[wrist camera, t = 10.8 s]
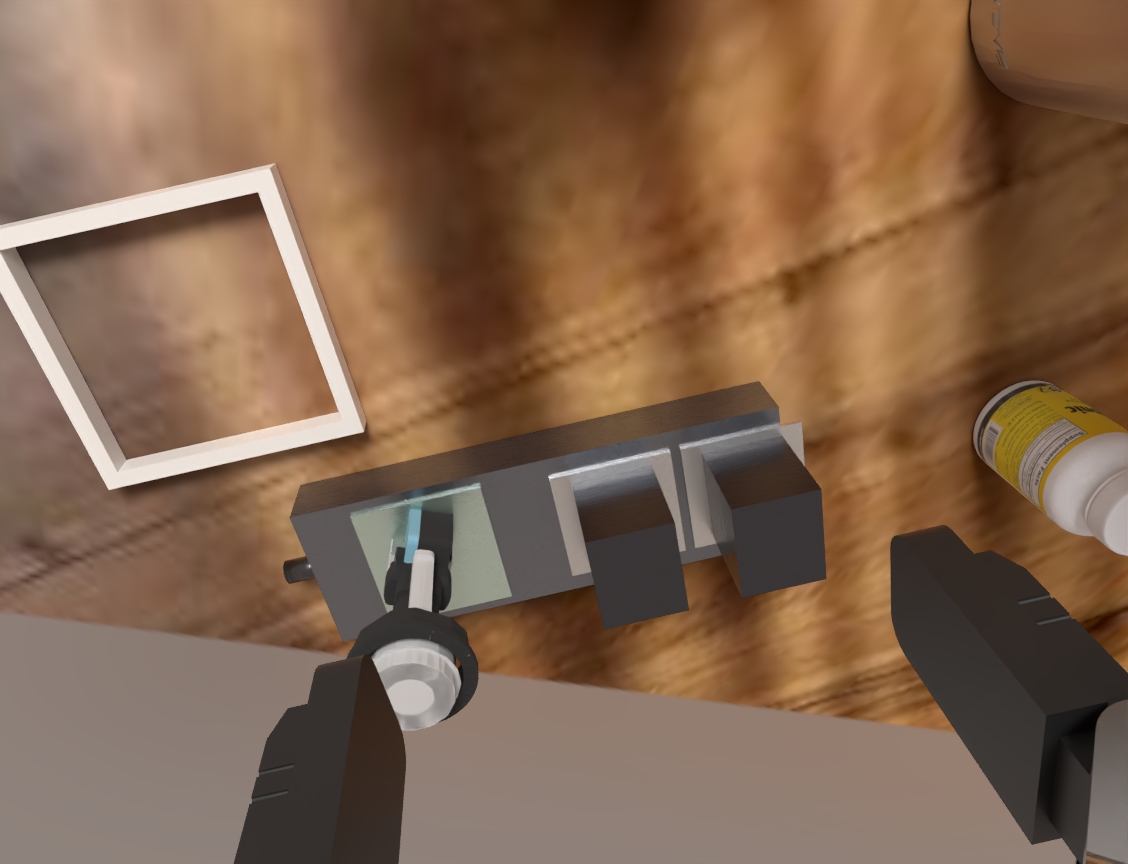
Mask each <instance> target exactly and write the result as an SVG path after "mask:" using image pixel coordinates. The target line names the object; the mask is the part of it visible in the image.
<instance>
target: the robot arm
mask: <svg viewBox="0 0 1128 864" xmlns="http://www.w3.org/2000/svg"><path fill="white" fill-rule="evenodd" d="M970 22H971V38H972V42H973V46H974V49H975V53H976V57H977V60H978V62H979V64H980V66H981V67H982V69H983V71H984V73H985V75H986V76H987V78H988V79H989V80H990V81H991V82H992V83H993V84H994V85H995V86H996V87H997V88H998V89H999V91H1000V92H1002V93H1003V94H1005V95H1007V96H1009V97H1010V98H1012V99H1014V100H1016V101H1017V102H1021V103H1025V104H1029V105H1033V106H1038V107H1043V108H1048V109H1053V110H1058V111H1063V112H1069V113H1074V114H1079V115H1082V116H1087V117H1092V118H1097V119H1103V120H1108V121H1113V122H1118V123H1123V124H1128V0H972V4H971V12H970ZM890 557H891V615H892V622H893V626H894V630H895V633H896V637H897V639H898V642H899V644H900V646H901V648H902V650H903V652H904V654H905V656H906V657H907V659H908V660H909V662H910V663H911V665H912V666H913V668H914V669H915V671H916V672H917V674H918V675H919V677H920V678H921V680H922V681H923V683H924V684H925V686H926V687H927V689H928V690H929V692H930V693H931V695H932V696H933V698H934V699H935V701H936V702H937V704H938V705H939V707H940V708H941V710H942V711H943V713H944V714H945V716H946V717H947V719H948V720H949V722H950V723H951V725H952V726H953V728H954V729H955V731H956V732H957V734H958V735H959V737H960V738H961V739H962V741H963V743H964V744H965V745H966V747H967V748H968V750H969V751H970V753H971V754H972V756H973V757H974V759H975V760H976V762H977V763H978V764H979V766H980V768H981V769H982V771H983V772H984V774H985V775H986V777H987V778H988V780H989V781H990V783H991V784H992V786H993V787H994V789H995V790H996V792H997V793H998V795H999V796H1000V798H1001V799H1002V801H1003V802H1004V804H1005V805H1006V807H1007V808H1008V810H1009V811H1010V813H1011V814H1012V816H1013V817H1014V819H1015V820H1016V822H1017V823H1018V825H1019V826H1020V827H1021V829H1022V831H1023V832H1024V834H1025V835H1026V837H1027V838H1028V840H1029V841H1030V843H1031V844H1032V845H1033V844H1037V843H1041V842H1046V841H1050V840H1054V839H1059V838H1062V839H1063V840H1064V841H1065V843H1066V844H1067V845H1068V847H1069V849H1070V850H1071V851H1072V853H1073V854H1074V855H1075V857H1076V861H1075V864H1128V673H1127V672H1126V671H1125V670H1124V669H1123V668H1122V667H1121V666H1120V665H1119V664H1118V663H1117V662H1116V661H1115V660H1114V659H1113V657H1112V656H1111V655H1110V654H1109V653H1108V652H1107V651H1106V650H1105V649H1104V648H1103V647H1102V646H1101V645H1100V644H1099V643H1098V642H1097V641H1096V640H1095V639H1094V638H1093V637H1092V636H1091V635H1090V634H1089V633H1088V632H1087V631H1086V630H1085V629H1084V628H1083V627H1082V626H1081V625H1080V624H1079V623H1078V622H1077V621H1076V620H1075V619H1071V618H1070V615H1069V613H1068V612H1067V611H1066V609H1065V608H1064V607H1063V606H1062V605H1061V604H1060V603H1059V602H1058V601H1057V600H1056V599H1055V598H1051V597H1050V593H1049V592H1048V591H1047V590H1046V589H1045V588H1044V587H1043V586H1042V585H1041V584H1040V583H1039V582H1038V581H1037V580H1036V579H1035V578H1034V577H1033V576H1032V575H1031V574H1030V573H1029V572H1028V571H1027V570H1026V569H1025V568H1023V567H1022V566H1020V565H1018V564H1016V563H1014V562H1012V561H1010V560H1008V559H1006V558H1004V557H1003V556H1001V555H999V554H997V553H995V552H993V551H991V550H990V551H985V552H981V553H976V554H973V552H972V551H971V550H970V549H969V548H968V547H967V546H966V545H965V544H964V543H963V541H962V540H961V539H960V538H959V537H958V536H957V535H956V534H955V533H954V532H953V531H952V530H951V529H950V528H949V527H947V526H945V525H941V526H936V527H932V528H928V529H923V530H919V531H914V532H910V533H906V534H901V535H897V536H894V537H893V538H892V541H891V547H890ZM405 754H406V753H405V745H404V739H403V734H402V730H401V727H400V724H399V721H398V719H397V716H396V714H395V711H394V709H393V707H392V704H391V702H390V699H389V697H388V695H387V692H386V690H385V687H384V685H383V683H382V680H381V678H380V675H379V673H378V671H377V668H376V666H375V664H374V661H373V660H372V658H371V657H370V656H369V655H362V656H358V657H353V658H349V659H345V660H340V661H336V662H331V663H327V664H323V665H319V666H318V667H317V668H316V670H315V673H314V677H313V682H312V686H311V691H310V695H309V700H308V704H305V705H301V706H296V707H292V708H288V709H287V711H286V712H285V714H284V715H283V716H282V718H281V719H280V721H279V722H278V724H277V725H276V727H275V728H274V730H273V731H272V733H271V734H270V735H269V737H268V738H267V741H266V744H265V748H264V752H263V756H262V759H261V763H260V767H259V777H257V778H256V782H255V786H254V790H253V793H252V804H250V805H249V808H248V812H247V816H246V820H245V823H244V828H243V831H242V835H241V839H240V842H239V846H238V850H237V853H236V857H235V861H234V864H398V862H399V849H400V836H401V822H402V811H403V796H404V783H405V771H406V755H405Z"/></svg>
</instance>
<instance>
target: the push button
mask: <svg viewBox="0 0 1128 864" xmlns="http://www.w3.org/2000/svg"><path fill="white" fill-rule="evenodd" d="M453 516H454V515H453V514H448V513H440V512H433V511H426V510H418V509H411V508H410V512H409V518H408V527H407V533H406V538H405V544H404V547H396V552H395V555H392V554H391V553H392V545H393V539H392V540H391V546H390V552H389V558H388V566H387V574H386V578H385V586H384V600H385V603H386V604H388V605H393V610H392V611H390V612H388V613H386V614H385V615H383V616H382V617H380V618H379V619H377V620H376V621H374V622H373V623H371V624H370V625H368V626H366V627H365V628H363V629H362V630H361V631H360V633H359V635H358V637H357V640H356V642H355V644H354V646H353V647H352V649H351V650H350V652H349V654H348V656H347V658H346V659H349V658H353V657H358V656H362V655H369V656H370V657H371V658H372V660H373V661H374V664H375V666H376V668H377V671H378V673H379V675H380V678H381V680H382V683H383V685H384V687H385V690H386V692H387V695H388V697H389V699H390V702H391V704H392V707H393V709H394V711H395V714H396V716H397V719H398V721H399V724H400V727H401V730H417V729H421V728H427V727H429V726H433V725H435V724H436V723H438V722H441V721H443V720H446V719H448V718H450V717H451V716H453V715H455V714H456V713H457V712H459V711H460V710H461V709H463V708H464V707H465V706H466V705H467V703H468V702H469V701H470V700H471V698H472V696H473V695H474V693H475V690H476V687H477V683H478V663H477V659H476V656H475V654H474V652H473V650H472V648H471V647H470V646H469V643H468V637H467V633H466V631H465V630H464V629H463V628H462V627H461V626H460V625H459V624H458V623H457V622H456V621H455V620H454V619H452V618H451V617H448V616H444V615H441V614H439V611H443V610H445V609H446V607H447V606H448V604H449V602H450V599H451V590H452V578H451V573H450V572H451V567H452V560H453V547H452V546H453ZM456 657H457V658H458V660H459V662H460V663H461V665H460V666H459V668H458V669H457V668H456Z"/></svg>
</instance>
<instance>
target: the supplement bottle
mask: <svg viewBox="0 0 1128 864" xmlns="http://www.w3.org/2000/svg"><path fill="white" fill-rule="evenodd" d="M973 441H974V446H975V449H976V451H977V453H978V455H979V456H980V458H981V459H982V460H983V461H984V462H985V463H986V464H987V465H988V466H990V467H991V468H992V469H993V470H994V471H995V472H997V473H998V474H999V475H1000V476H1001V477H1002V478H1004V479H1005V480H1006V481H1007V482H1008V483H1009V484H1011V485H1012V486H1013V487H1014V488H1015V489H1016V490H1017V491H1019V492H1020V493H1021V494H1022V495H1023V496H1025V497H1026V498H1027V499H1028V500H1029V501H1030V502H1032V503H1033V504H1034V505H1035V506H1036V507H1037V508H1039V509H1040V510H1041V511H1042V512H1043V513H1044V514H1045V515H1047V516H1048V517H1049V518H1050V519H1051V520H1052V521H1053V522H1054V523H1056V524H1057V525H1058V526H1059V527H1061V528H1062V529H1064V530H1066V531H1068V532H1070V533H1073V534H1076V535H1081V536H1094V537H1096V538H1097V539H1098V540H1099V541H1100V542H1102V543H1103V544H1104V545H1105V546H1107V547H1108V548H1109V549H1110V550H1112V551H1114V552H1115V553H1118V554H1121V555H1126V556H1128V431H1127V430H1126V429H1124V428H1123V427H1121V426H1120V425H1118V424H1117V423H1115V422H1114V421H1112V420H1110V419H1109V418H1107V417H1106V416H1104V415H1103V414H1101V413H1099V412H1098V411H1096V410H1095V409H1093V408H1092V407H1090V406H1088V405H1087V404H1085V403H1083V402H1082V401H1080V400H1079V399H1077V398H1076V397H1074V396H1072V395H1071V394H1069V393H1068V392H1066V391H1064V390H1063V389H1061V388H1059V387H1057V386H1056V385H1054V384H1051V383H1049V382H1045V381H1024V382H1020V383H1017V384H1014V385H1012V386H1010V387H1008V388H1006V389H1004V390H1003V391H1001V392H1000V393H998V394H997V395H996V396H994V397H993V398H992V399H991V400H990V401H989V402H988V403H987V404H986V406H985V407H984V408H983V410H982V411H981V413H980V414H979V416H978V418H977V421H976V423H975V427H974V433H973Z"/></svg>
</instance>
